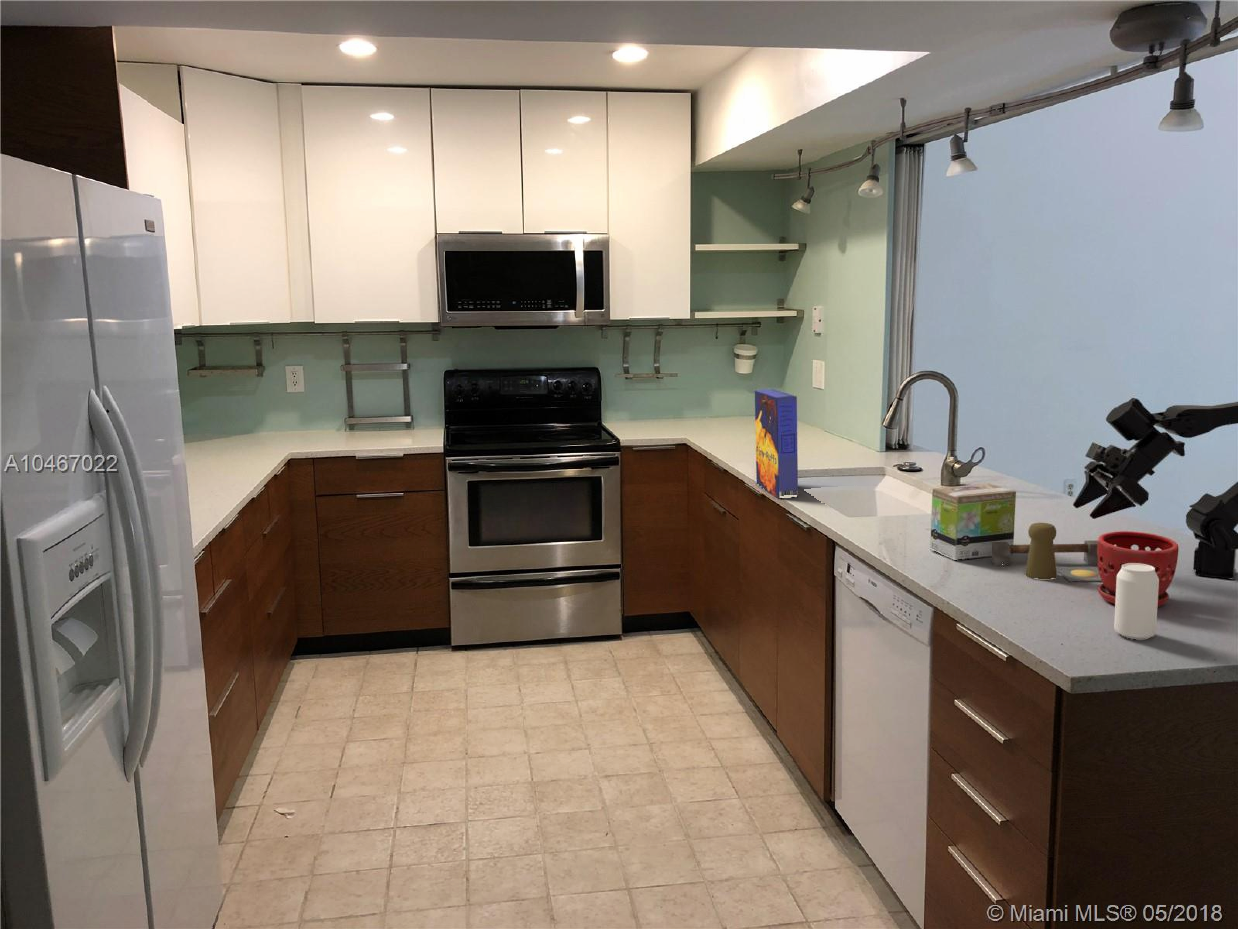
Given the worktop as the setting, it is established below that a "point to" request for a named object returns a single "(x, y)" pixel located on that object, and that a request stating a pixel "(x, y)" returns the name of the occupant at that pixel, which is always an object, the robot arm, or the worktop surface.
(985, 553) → the tea box
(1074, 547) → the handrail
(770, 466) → the cereal box
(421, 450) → the worktop surface
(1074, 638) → the worktop surface
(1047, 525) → the cork
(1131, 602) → the beverage can
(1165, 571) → the plant pot
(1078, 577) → the pad
